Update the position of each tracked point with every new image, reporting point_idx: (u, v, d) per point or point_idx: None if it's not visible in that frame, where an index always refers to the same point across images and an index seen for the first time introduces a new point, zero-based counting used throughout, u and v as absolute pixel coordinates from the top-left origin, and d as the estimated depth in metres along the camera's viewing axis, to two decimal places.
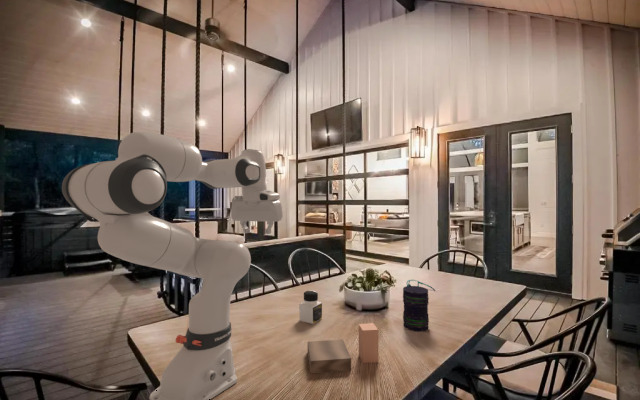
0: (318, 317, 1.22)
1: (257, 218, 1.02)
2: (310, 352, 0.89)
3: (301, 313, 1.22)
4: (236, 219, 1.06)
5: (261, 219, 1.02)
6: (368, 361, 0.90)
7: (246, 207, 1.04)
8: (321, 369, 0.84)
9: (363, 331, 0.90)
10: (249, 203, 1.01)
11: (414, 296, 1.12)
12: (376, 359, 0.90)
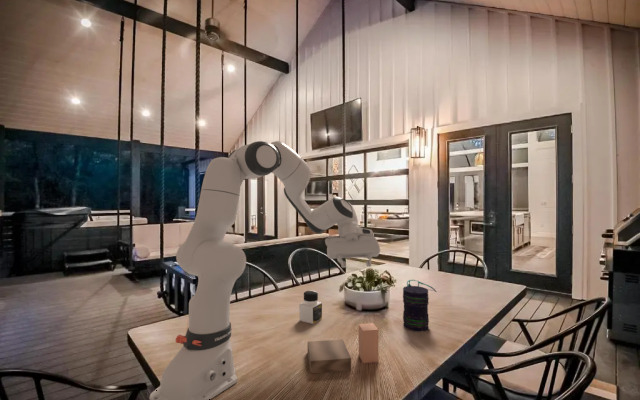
0: (318, 317, 1.22)
1: (359, 250, 1.08)
2: (310, 352, 0.89)
3: (301, 313, 1.22)
4: (335, 252, 1.07)
5: (363, 250, 1.08)
6: (368, 361, 0.90)
7: (345, 242, 1.11)
8: (321, 369, 0.84)
9: (363, 331, 0.90)
10: (351, 236, 1.11)
11: (414, 296, 1.12)
12: (376, 359, 0.90)
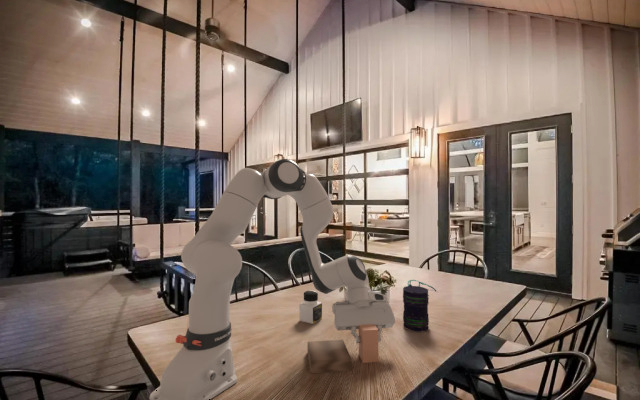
0: (318, 317, 1.22)
1: (371, 321, 0.95)
2: (310, 352, 0.89)
3: (301, 313, 1.22)
4: (344, 324, 0.93)
5: (376, 322, 0.95)
6: (368, 361, 0.90)
7: (355, 310, 0.97)
8: (321, 369, 0.84)
9: (363, 331, 0.90)
10: (362, 303, 0.98)
11: (414, 296, 1.12)
12: (376, 359, 0.90)
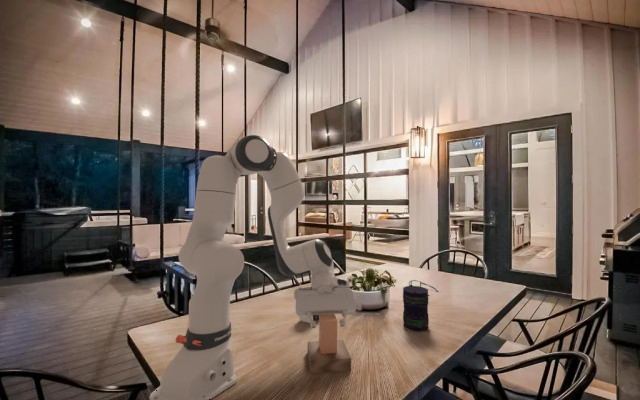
0: (318, 317, 1.22)
1: (332, 306, 0.93)
2: (310, 352, 0.89)
3: None
4: (303, 309, 0.92)
5: (337, 307, 0.93)
6: (326, 352, 0.88)
7: (316, 295, 0.96)
8: (321, 370, 0.84)
9: (322, 321, 0.88)
10: (324, 289, 0.96)
11: (414, 296, 1.12)
12: (334, 350, 0.89)
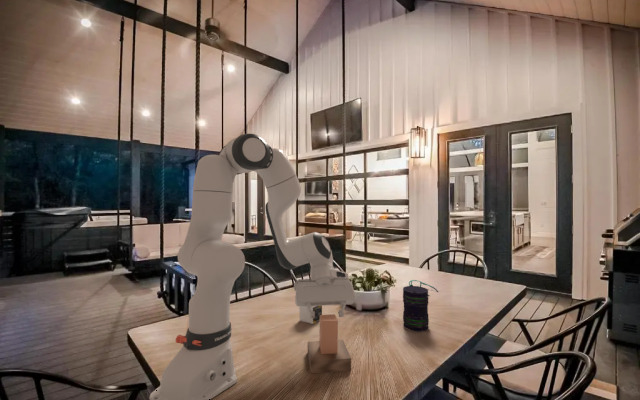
0: (318, 317, 1.22)
1: (331, 297, 0.96)
2: (310, 352, 0.89)
3: (301, 313, 1.22)
4: (303, 300, 0.94)
5: (336, 298, 0.95)
6: (327, 352, 0.88)
7: (316, 287, 0.98)
8: (321, 370, 0.84)
9: (322, 322, 0.88)
10: (323, 280, 0.98)
11: (414, 296, 1.12)
12: (335, 350, 0.88)
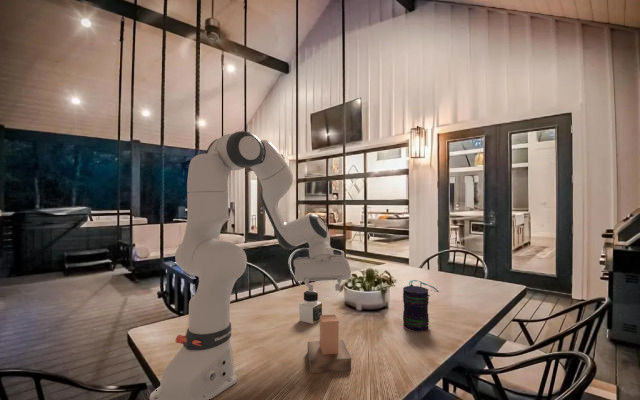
0: (318, 317, 1.22)
1: (328, 272, 1.02)
2: (310, 352, 0.89)
3: (301, 313, 1.22)
4: (302, 275, 1.01)
5: (332, 273, 1.02)
6: (328, 353, 0.88)
7: (314, 263, 1.05)
8: (321, 369, 0.84)
9: (323, 322, 0.88)
10: (321, 258, 1.05)
11: (414, 296, 1.12)
12: (336, 350, 0.88)
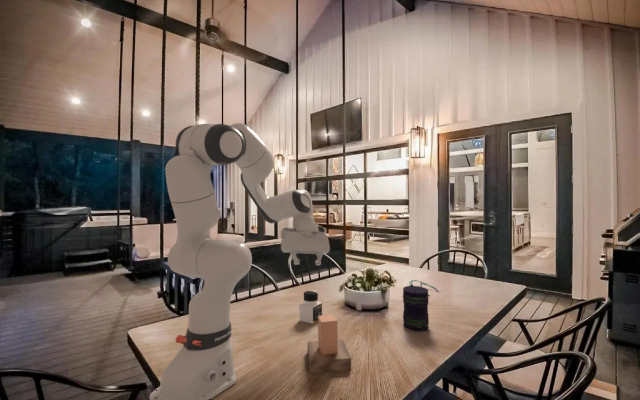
0: None
1: (312, 248, 1.10)
2: (310, 352, 0.89)
3: (301, 313, 1.22)
4: (291, 248, 1.04)
5: (316, 249, 1.10)
6: (327, 353, 0.88)
7: (300, 237, 1.09)
8: (320, 369, 0.84)
9: (322, 323, 0.88)
10: (308, 233, 1.10)
11: (414, 296, 1.12)
12: (335, 350, 0.88)
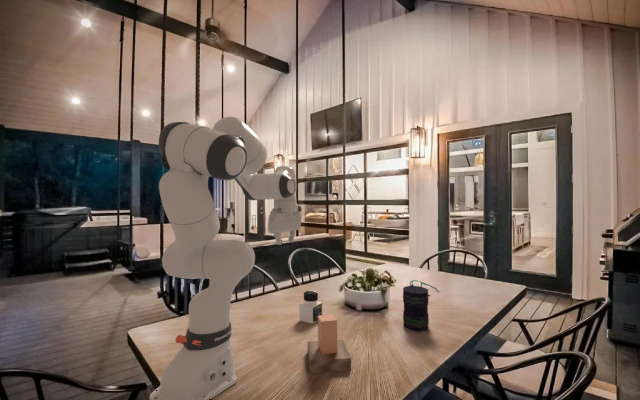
0: None
1: (291, 228, 1.15)
2: (310, 352, 0.89)
3: (301, 313, 1.22)
4: (279, 231, 1.06)
5: (293, 228, 1.16)
6: (327, 353, 0.88)
7: (284, 218, 1.11)
8: (320, 369, 0.85)
9: (322, 322, 0.88)
10: (291, 214, 1.13)
11: (414, 296, 1.12)
12: (335, 350, 0.88)
